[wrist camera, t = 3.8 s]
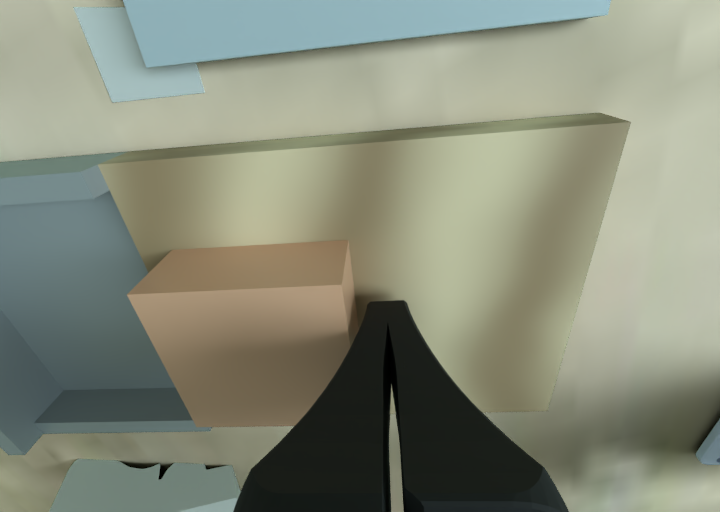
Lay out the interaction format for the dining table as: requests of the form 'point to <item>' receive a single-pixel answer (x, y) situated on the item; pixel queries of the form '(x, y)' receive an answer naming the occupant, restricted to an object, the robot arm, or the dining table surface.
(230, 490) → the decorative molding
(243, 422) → the tile
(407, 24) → the pale blue flat panel
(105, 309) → the tray
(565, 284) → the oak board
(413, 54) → the dining table surface
